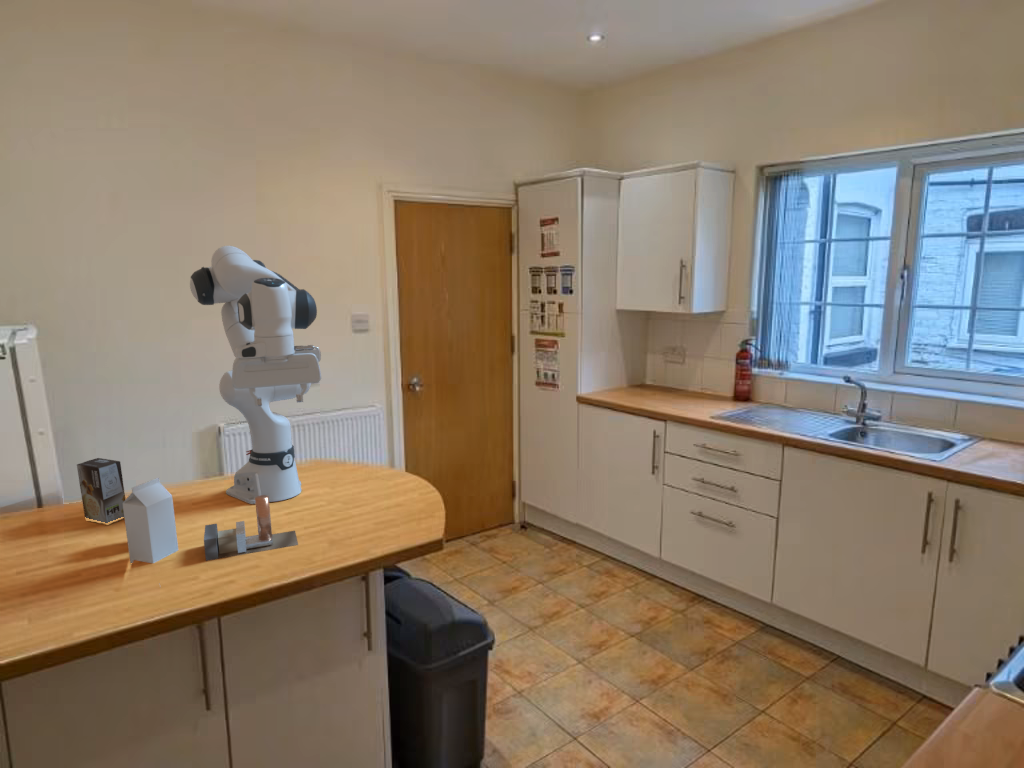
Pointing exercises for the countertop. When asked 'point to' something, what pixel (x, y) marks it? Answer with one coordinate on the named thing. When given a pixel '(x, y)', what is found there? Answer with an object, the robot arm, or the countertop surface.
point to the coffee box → (101, 489)
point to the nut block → (227, 541)
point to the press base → (278, 542)
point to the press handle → (263, 527)
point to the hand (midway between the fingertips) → (279, 403)
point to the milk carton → (150, 522)
